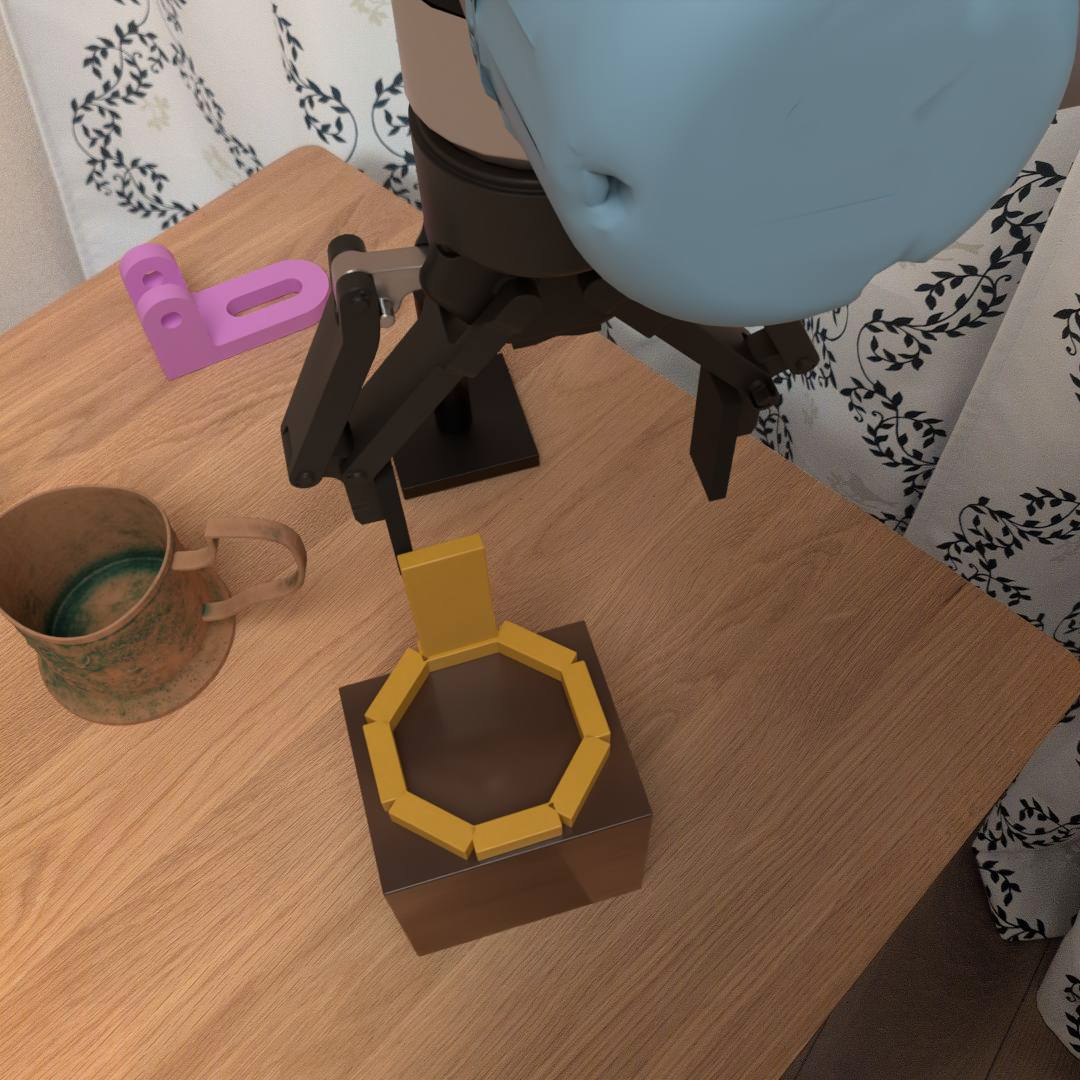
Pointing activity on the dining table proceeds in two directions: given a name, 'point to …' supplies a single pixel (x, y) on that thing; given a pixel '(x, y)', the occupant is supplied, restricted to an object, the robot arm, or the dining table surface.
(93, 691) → the mug
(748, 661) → the dining table surface
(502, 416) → the post
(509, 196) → the robot arm
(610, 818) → the block
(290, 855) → the dining table surface
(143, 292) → the bracket
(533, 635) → the ring
